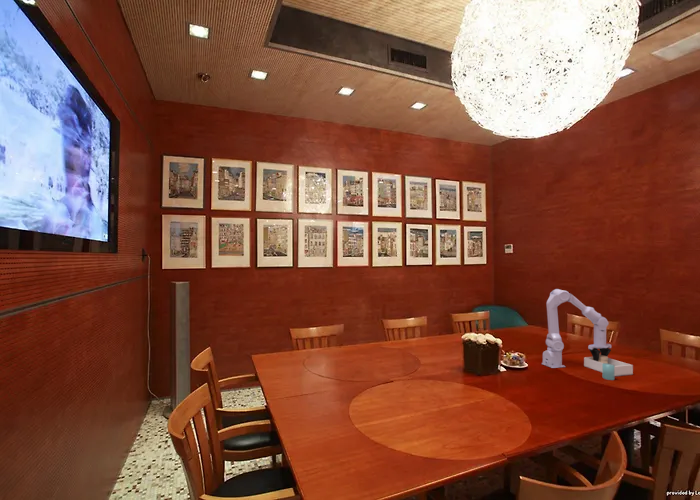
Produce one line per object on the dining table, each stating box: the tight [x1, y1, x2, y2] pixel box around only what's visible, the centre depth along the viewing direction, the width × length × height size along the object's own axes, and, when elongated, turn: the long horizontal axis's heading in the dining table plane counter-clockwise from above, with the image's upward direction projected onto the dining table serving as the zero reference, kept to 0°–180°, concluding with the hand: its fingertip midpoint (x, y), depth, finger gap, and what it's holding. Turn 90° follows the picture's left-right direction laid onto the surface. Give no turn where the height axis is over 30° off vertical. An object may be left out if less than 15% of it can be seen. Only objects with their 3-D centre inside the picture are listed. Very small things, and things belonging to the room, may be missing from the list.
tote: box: [583, 356, 634, 377], centre depth 192 cm, size 13×17×5 cm
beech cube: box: [591, 353, 609, 364], centre depth 196 cm, size 5×5×5 cm
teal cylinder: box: [601, 363, 616, 381], centre depth 179 cm, size 5×5×7 cm
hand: (599, 361), depth 196 cm, fingers closed on beech cube, 5 cm apart
